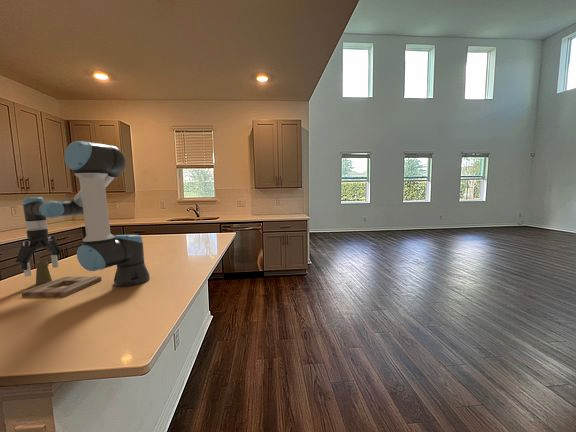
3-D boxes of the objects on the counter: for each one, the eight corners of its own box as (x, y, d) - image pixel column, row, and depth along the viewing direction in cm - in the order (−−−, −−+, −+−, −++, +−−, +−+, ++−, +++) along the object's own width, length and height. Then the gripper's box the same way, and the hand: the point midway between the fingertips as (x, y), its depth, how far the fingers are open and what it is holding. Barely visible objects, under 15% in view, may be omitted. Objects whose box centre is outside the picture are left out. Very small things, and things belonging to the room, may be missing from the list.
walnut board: (101, 280, 132) (101, 276, 132) (64, 296, 112) (64, 292, 112) (64, 280, 134) (64, 276, 134) (21, 296, 114) (21, 292, 114)
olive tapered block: (42, 285, 128) (39, 263, 127) (32, 284, 129) (29, 262, 128) (55, 280, 134) (52, 259, 133) (45, 280, 135) (43, 259, 134)
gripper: (54, 225, 141) (59, 264, 144) (0, 233, 117) (7, 280, 119) (67, 225, 141) (71, 264, 143) (16, 233, 116) (22, 280, 118)
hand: (42, 271), depth 131 cm, fingers open, 13 cm apart
